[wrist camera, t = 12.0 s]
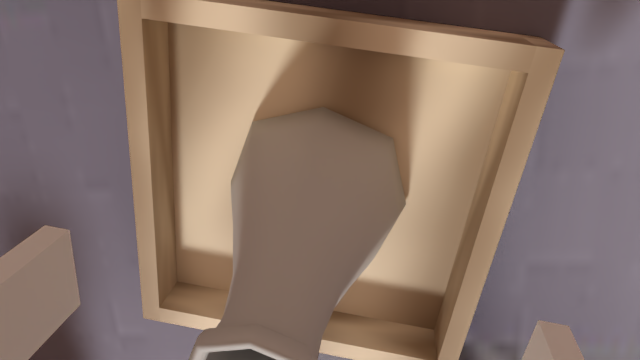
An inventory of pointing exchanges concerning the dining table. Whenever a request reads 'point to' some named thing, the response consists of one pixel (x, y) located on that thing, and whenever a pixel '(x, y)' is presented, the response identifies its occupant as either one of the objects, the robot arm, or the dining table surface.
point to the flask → (301, 231)
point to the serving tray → (354, 103)
